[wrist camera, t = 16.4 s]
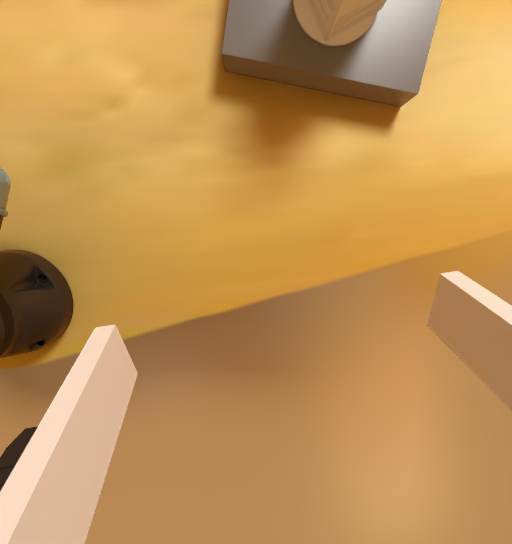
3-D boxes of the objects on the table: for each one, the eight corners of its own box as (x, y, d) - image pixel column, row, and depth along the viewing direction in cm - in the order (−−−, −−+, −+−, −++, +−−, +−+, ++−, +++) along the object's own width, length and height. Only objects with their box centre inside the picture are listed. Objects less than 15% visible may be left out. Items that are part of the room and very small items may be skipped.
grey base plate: (225, 70, 37) (220, 48, 32) (245, -74, 34) (244, -123, 29) (400, 106, 38) (422, 90, 33) (435, -31, 35) (464, -71, 30)
